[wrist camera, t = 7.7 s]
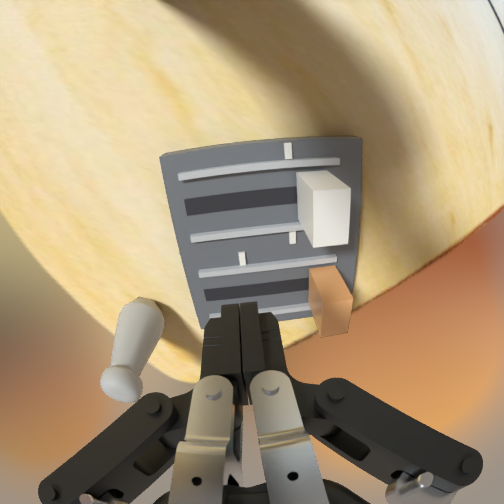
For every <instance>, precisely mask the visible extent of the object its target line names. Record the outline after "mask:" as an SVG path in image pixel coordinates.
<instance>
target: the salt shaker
mask: <svg viewBox="0 0 504 504" xmlns="http://www.w3.org/2000/svg"><path fill="white" fill-rule="evenodd" d="M164 325H165V320H164V317H163V314H162V311H161V309H160V308H159V307H158V305H157V304H156V303H155V302H154V300H152V299H147V298H143V297H138V298H137V299H135V300H134V301H132V302H130V303H128V304H126V305H124V307H123V308H122V310H121V312H120V313H119V317H118V322H117V328H116V333H115V339H114V345H113V352H112V359H111V366H110V367H107V368H106V369H105V371H104V372H103V374H102V377H101V382H100V384H101V387H102V389H103V391H104V392H105V393H106V394H107V395H108V396H109V397H111V398H113V399H114V400H117V401H120V402H124V403H132V402H136V401H137V400H138V399H139V398H140V397H141V394H142V389H143V385H142V380H141V379H140V378H139V376H140V374H141V372H142V370H143V368H144V366H145V365H146V363H147V361H148V359H149V357H150V355H151V354H152V352H153V350H154V348H155V346H156V345H157V343H158V341H159V339H160V337H161V336H162V334H163V332H164Z"/></svg>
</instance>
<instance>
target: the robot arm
mask: <svg viewBox="0 0 504 504" xmlns="http://www.w3.org/2000/svg"><path fill="white" fill-rule="evenodd" d="M248 397H249V401H250V405H253V411H254V416H255V422H256V427H257V433H258V440H259V447H260V453H261V458H262V464H263V469H264V474H265V480H266V483H263V484H260V485H256V486H253V487H249V488H245V487H243V470H242V437H243V406H242V405H248ZM309 435H313V437H315V438H316V439H317V440H319V441H320V442H321V443H323V444H324V445H326V446H327V447H329V448H330V449H332V450H333V451H335V452H336V453H337V454H339V455H340V456H342V457H344V458H345V459H347V460H348V461H350V462H351V463H353V464H354V465H356V466H357V467H359V468H361V469H362V470H364V471H366V472H367V473H369V474H371V475H372V476H374V477H376V478H377V479H379V480H381V481H382V482H384V483H386V484H388V487H387V489H386V493H385V497H386V500H387V502H388V503H389V504H450V503H451V501H452V499H453V498H454V496H455V494H456V493H457V491H458V490H459V489H462V488H464V487H466V486H468V485H470V484H471V483H473V482H474V481H475V480H476V479H477V478H478V477H479V475H480V474H481V471H482V468H483V459H482V456H481V454H480V453H479V452H478V451H477V450H475V449H473V448H471V447H469V446H467V445H464V444H462V443H460V442H458V441H456V440H454V439H452V438H450V437H448V436H446V435H444V434H442V433H440V432H438V431H436V430H434V429H432V428H430V427H429V426H427V425H425V424H423V423H421V422H419V421H417V420H415V419H414V418H412V417H410V416H408V415H406V414H404V413H403V412H401V411H399V410H397V409H395V408H393V407H392V406H390V405H388V404H387V403H384V402H383V401H381V400H380V399H378V398H376V397H375V396H373V395H371V394H369V393H368V392H366V391H364V390H363V389H361V388H359V387H358V386H356V385H354V384H353V383H351V382H349V381H348V380H346V379H343V378H330V379H328V380H325V381H323V382H322V383H321V384H320V385H316V384H307V383H302V382H299V381H297V380H295V379H294V378H293V377H292V376H291V375H290V374H289V372H288V371H287V367H286V361H285V356H284V351H283V345H282V340H281V335H280V329H279V324H278V320H277V318H276V317H275V316H274V315H273V314H272V312H265V313H258V305H257V301H254V302H245V303H240V307H239V303H236V304H226V305H221V317H218V318H210V320H209V321H208V323H207V324H206V326H205V329H204V340H203V351H202V363H201V376H200V380H199V381H198V382H197V383H196V385H195V387H194V389H192V390H191V391H189V392H188V393H186V394H182V395H179V396H176V397H172V398H169V397H168V396H166V395H165V394H162V393H157V392H154V393H149V394H146V395H145V396H143V397H142V398H141V399H139V400H138V401H137V402H136V403H135V404H134V405H133V406H131V407H130V408H129V409H128V410H127V411H126V412H125V413H123V414H122V415H121V416H120V417H119V418H118V419H117V420H115V421H114V422H113V423H112V424H111V425H110V426H108V427H107V428H106V429H105V430H104V431H103V432H101V433H100V434H99V435H98V436H97V437H95V438H94V439H93V440H92V441H91V442H89V443H88V444H87V445H86V446H85V447H83V448H82V449H81V450H80V451H79V452H77V453H76V454H75V455H74V456H73V457H71V458H70V459H69V460H68V461H67V462H65V463H64V464H63V465H61V466H60V467H59V468H58V469H56V470H55V471H54V472H53V473H51V474H50V475H49V476H48V477H46V478H45V479H44V480H43V481H41V483H40V485H39V488H38V495H39V498H40V501H41V502H42V504H130V503H131V502H132V501H133V500H134V499H135V498H136V497H138V496H139V495H140V494H141V493H142V492H143V491H145V490H146V489H147V488H148V487H149V486H150V485H151V484H152V483H153V482H155V481H156V480H157V479H158V478H159V477H160V476H161V475H162V474H163V473H164V472H165V471H166V470H167V469H168V468H170V467H171V465H173V464H174V468H173V474H172V482H171V488H170V491H169V492H167V493H165V494H164V495H162V496H161V497H159V498H158V499H157V500H156V501H155V502H154V503H153V504H370V503H369V502H367V501H365V500H364V499H362V498H361V497H359V496H358V495H356V494H355V493H353V492H352V491H350V490H349V489H348V488H346V487H344V486H342V485H341V484H339V483H336V482H333V481H330V480H326V479H322V477H321V473H320V470H319V466H318V463H317V459H316V456H315V453H314V449H313V446H312V442H311V439H310V437H309Z"/></svg>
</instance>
